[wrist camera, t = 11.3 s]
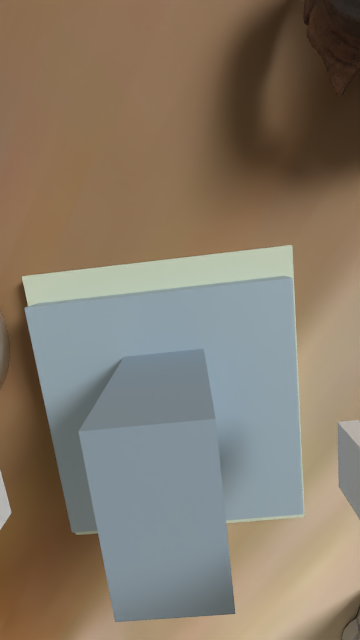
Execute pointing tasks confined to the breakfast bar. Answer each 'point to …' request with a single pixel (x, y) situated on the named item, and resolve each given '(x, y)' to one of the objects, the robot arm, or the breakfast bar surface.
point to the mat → (165, 286)
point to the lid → (172, 431)
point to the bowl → (3, 350)
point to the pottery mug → (335, 37)
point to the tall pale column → (352, 629)
